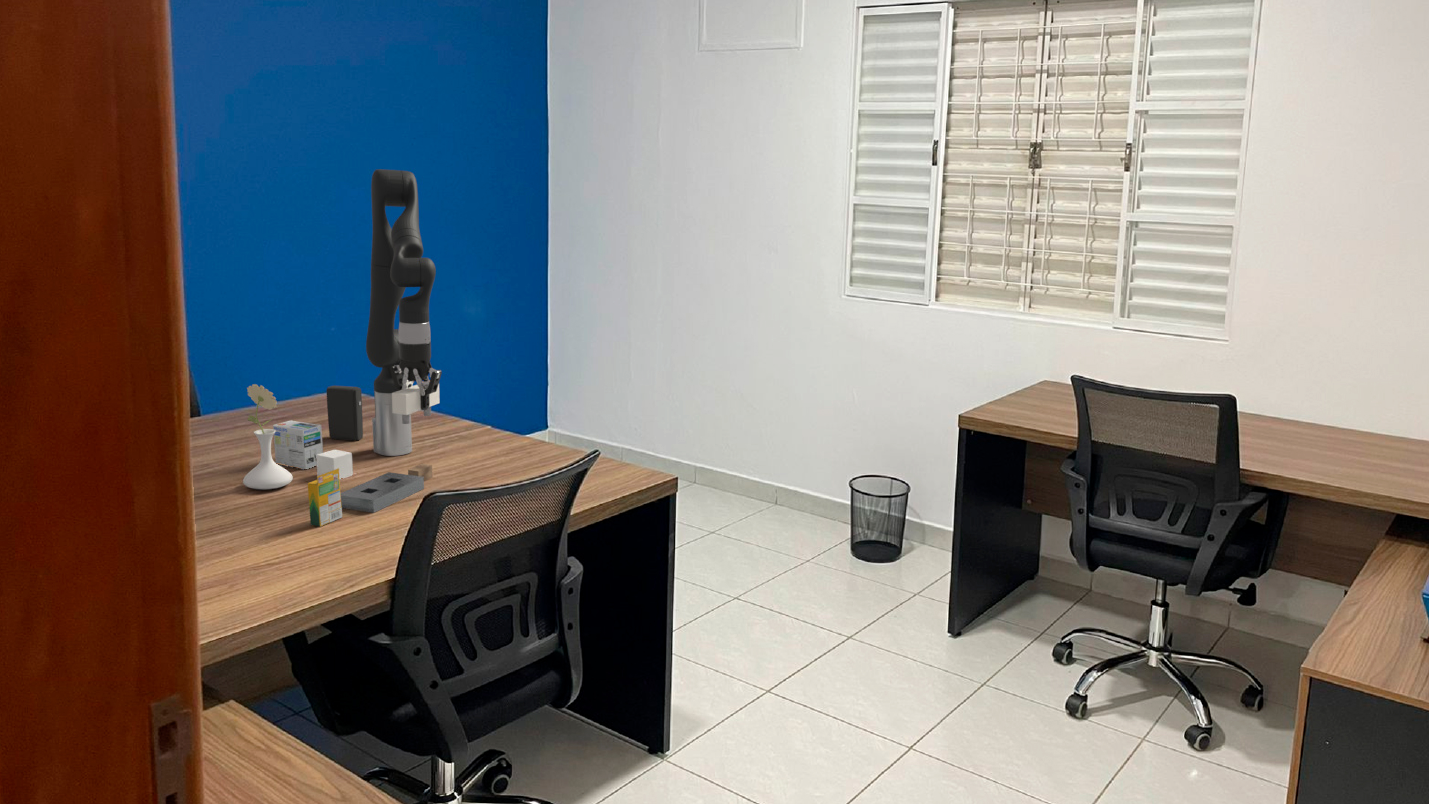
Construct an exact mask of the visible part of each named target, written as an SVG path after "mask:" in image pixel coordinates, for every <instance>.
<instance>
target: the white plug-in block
mask: <svg viewBox="0 0 1429 804" xmlns="http://www.w3.org/2000/svg"><path fill="white" fill-rule="evenodd" d="M429 382H430V379H429ZM420 396H421V392H420V388H419V387H418V385H417V384H415V385H412V387H409V388H406V389H403V390H400V391H397V392H393V393H392V412H393V413H395V414H402V424H409V423H410V414H414V413H416V412H419V411H422V410H421V398H420ZM429 402H430V405H429V407H428V409H426V410H423V416H425V417H430V416H432V407H433V406H435V405H438V404H440V383H439V384H438V388H437V391H436V392H433V393H431V394H430V395H429Z"/></svg>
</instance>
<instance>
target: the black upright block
mask: <svg viewBox="0 0 1429 804" xmlns="http://www.w3.org/2000/svg"><path fill="white" fill-rule="evenodd" d="M326 404H327V421H328V435H329V438H330V439H332V440H340V441H341V440H342V441H343V440H344V441H354V440H356V441H359V440H361V439H363V437H364V427H363V426H364V419H363V400H362V389H361V388H360V387H358V386H347V385H346V386H345V385H330V386H328V387H327V388H326Z"/></svg>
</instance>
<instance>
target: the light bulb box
mask: <svg viewBox="0 0 1429 804" xmlns="http://www.w3.org/2000/svg"><path fill="white" fill-rule="evenodd" d="M272 429H273V430H276V432H275V433H274V435H273V444H274V446H273V447H274V456H275V458H274V459H275V463H281V464H285V465H288V466H294V467H298V468H301V469H300V470H304V469H307V470H309V468H310V469H312V467H313V468H315V467H314V466H316V467H317V458H316V455H317V454H321V453H324V447H323V431H322V430H323V429H322V424H316V423H311V422H305V421H304V422H303V421H295V420H292V419H291V420H287V421H283V422H281V423H276V424H273V425H272ZM288 466H287V467H288ZM298 468H297V469H298Z"/></svg>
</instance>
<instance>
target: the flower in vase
mask: <svg viewBox="0 0 1429 804" xmlns="http://www.w3.org/2000/svg"><path fill="white" fill-rule="evenodd" d="M246 389H247V391H246V392H247V396H248V397H250V398H251V400H252V401H253V402H254V404H256V407H255V408H256V409H255V414H254V415H255V416H254V415H252V414H249V415H248V418H247V421H248V422H252V423H254V424H256V425H257V424H258V426H259V428H260V429H257V430H255V431H253V434H254V435H255V437H256V438H257V440H258V442H259V447H260V454H261V456H260V461H259V463H258V464H257V465H256V466H255V467H254V468H252V469H251V470H250V471H249V472H248V473H246V475H245V476H244V477H243V480H242V484H243V485H244V486H245V487H246V488H250V489H253V490H272V489H278V488H282V487H284V486H286V485H288V484H290V483H291V482H292V481H293V479H294V478H293V477H294V476H293V475H292V473H291V472H290V471H289V470H287V469H285V467H284V466H282V465H278V464H276V461H274V459H273V457H272V456H273V455H272V442H273V441H272V440H273V438H274V433H275V432H276V430H273V428H263V426H265V425H266V424H269V422H271V421H272V420H273V418H270V419H269V420H266V421H264V422H263V423H262V424H261V423H260V421H259V419H258V410H259V407H261V408H263V409H265V410H267V409H268V410H270V411H271V410H274V409H277V408H278V406H277V403H278V402H277V400H276V399H277V398H276V397H275V396H273V395H274V393H273V392H272V391H269V389H267V388H265V387H264V386H263V385H261V384H260V386H259V385H258V384H256V383H254V384H252V385H249V386H248V387H246Z"/></svg>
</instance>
